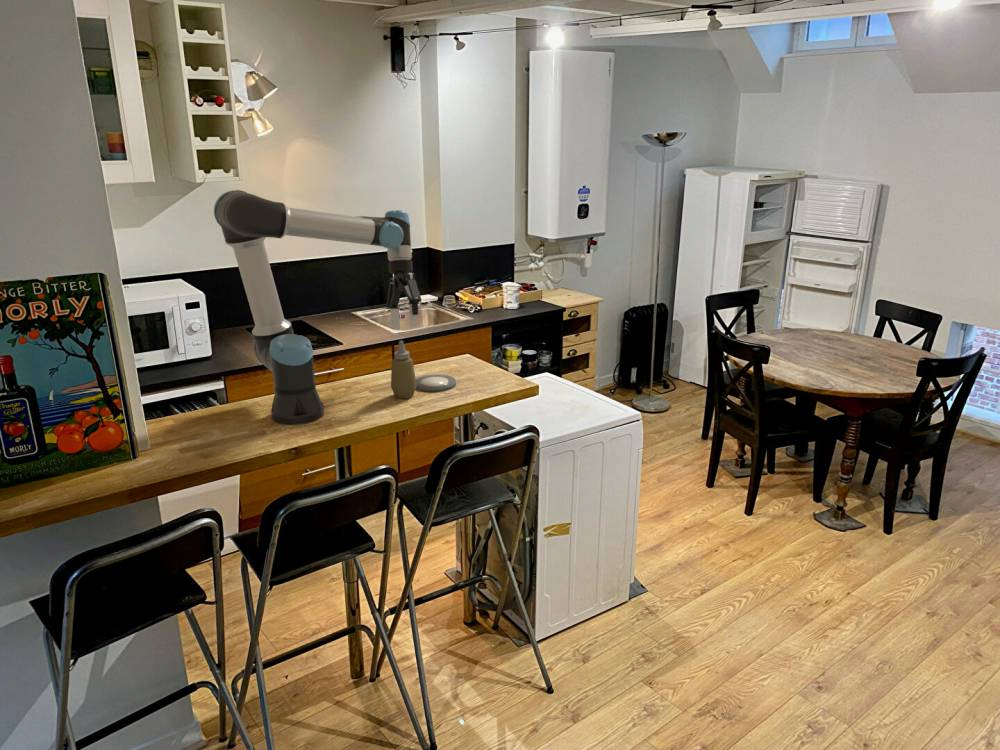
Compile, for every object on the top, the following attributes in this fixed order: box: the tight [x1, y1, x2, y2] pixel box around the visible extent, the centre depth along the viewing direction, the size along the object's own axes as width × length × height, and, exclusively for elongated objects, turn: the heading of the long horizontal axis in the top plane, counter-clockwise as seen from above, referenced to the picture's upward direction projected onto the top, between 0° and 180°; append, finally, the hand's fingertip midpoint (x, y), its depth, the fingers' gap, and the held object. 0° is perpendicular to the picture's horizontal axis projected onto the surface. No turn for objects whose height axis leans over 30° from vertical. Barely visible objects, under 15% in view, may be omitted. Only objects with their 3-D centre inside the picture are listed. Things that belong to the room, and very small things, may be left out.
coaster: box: [415, 374, 457, 393], centre depth 248 cm, size 14×14×1 cm
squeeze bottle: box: [390, 340, 417, 399], centre depth 236 cm, size 8×8×18 cm
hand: (405, 327), depth 240 cm, fingers open, 13 cm apart
